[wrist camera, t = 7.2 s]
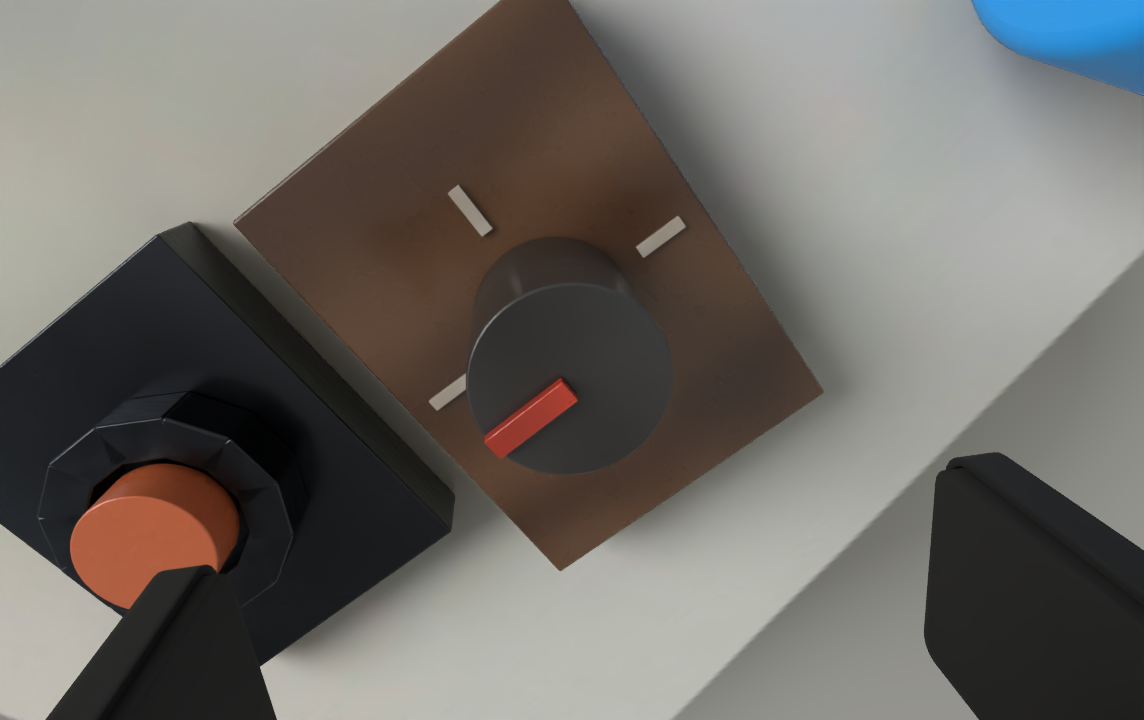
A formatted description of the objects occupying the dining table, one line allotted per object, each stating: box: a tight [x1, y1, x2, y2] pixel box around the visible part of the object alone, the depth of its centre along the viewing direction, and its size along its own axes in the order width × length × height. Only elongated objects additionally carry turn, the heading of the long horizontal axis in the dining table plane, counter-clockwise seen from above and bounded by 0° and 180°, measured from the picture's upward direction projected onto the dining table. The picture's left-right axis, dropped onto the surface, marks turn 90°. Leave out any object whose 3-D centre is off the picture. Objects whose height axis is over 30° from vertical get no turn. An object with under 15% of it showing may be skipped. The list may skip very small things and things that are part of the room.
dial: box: [466, 237, 673, 475], centre depth 17 cm, size 4×4×5 cm
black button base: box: [0, 221, 455, 666], centre depth 21 cm, size 12×10×4 cm
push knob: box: [70, 464, 240, 609], centre depth 19 cm, size 4×4×2 cm
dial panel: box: [233, 0, 824, 571], centre depth 21 cm, size 14×10×3 cm
